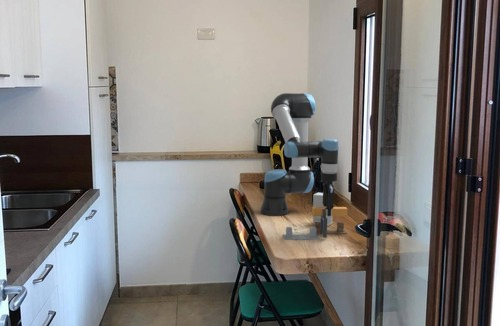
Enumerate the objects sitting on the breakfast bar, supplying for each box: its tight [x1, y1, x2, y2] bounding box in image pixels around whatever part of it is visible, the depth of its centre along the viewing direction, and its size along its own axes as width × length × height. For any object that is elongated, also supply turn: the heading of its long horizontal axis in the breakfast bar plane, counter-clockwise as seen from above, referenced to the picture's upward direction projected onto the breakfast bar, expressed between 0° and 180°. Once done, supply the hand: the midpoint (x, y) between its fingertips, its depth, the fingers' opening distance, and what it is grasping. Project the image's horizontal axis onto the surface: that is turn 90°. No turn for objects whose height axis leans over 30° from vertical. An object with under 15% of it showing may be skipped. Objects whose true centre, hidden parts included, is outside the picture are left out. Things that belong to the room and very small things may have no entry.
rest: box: [313, 221, 348, 235], centre depth 244 cm, size 6×16×4 cm, turn 94°
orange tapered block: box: [311, 206, 349, 217], centre depth 243 cm, size 4×16×4 cm, turn 95°
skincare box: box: [312, 192, 333, 227], centre depth 257 cm, size 8×7×16 cm
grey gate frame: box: [319, 209, 328, 239], centre depth 234 cm, size 7×2×12 cm, turn 5°
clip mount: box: [282, 226, 321, 241], centre depth 234 cm, size 6×16×4 cm, turn 94°
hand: (327, 221), depth 243 cm, fingers closed on orange tapered block, 4 cm apart
